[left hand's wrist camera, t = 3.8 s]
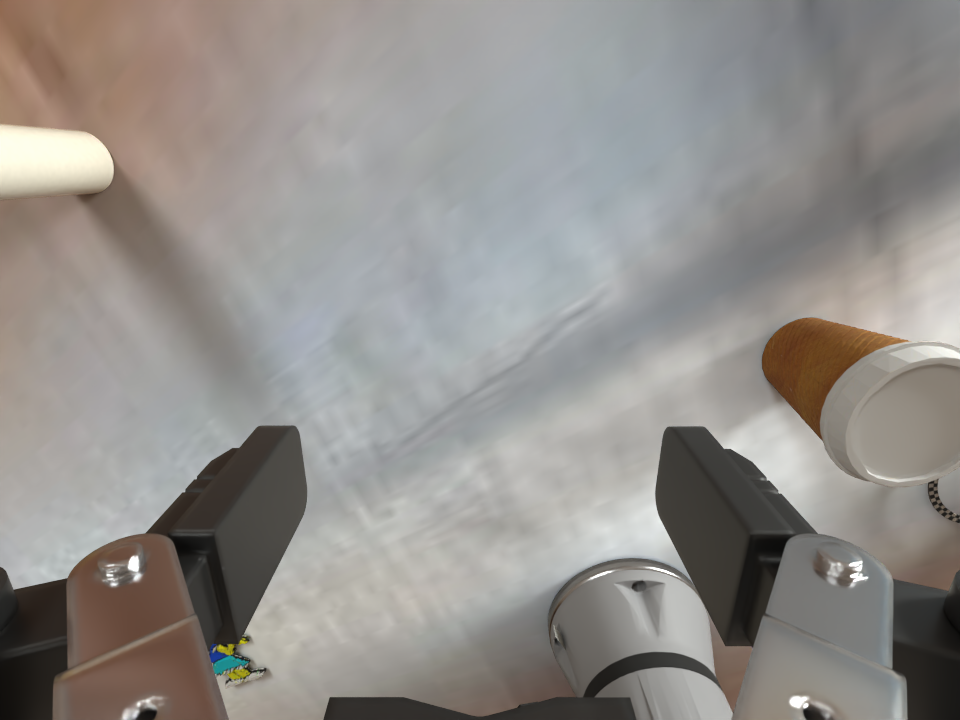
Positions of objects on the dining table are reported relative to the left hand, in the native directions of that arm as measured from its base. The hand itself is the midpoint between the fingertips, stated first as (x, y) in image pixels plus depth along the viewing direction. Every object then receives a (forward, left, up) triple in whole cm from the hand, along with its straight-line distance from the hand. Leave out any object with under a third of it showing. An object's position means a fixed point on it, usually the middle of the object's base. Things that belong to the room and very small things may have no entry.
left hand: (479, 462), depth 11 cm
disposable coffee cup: (+8, +26, -29) cm, 40 cm away
